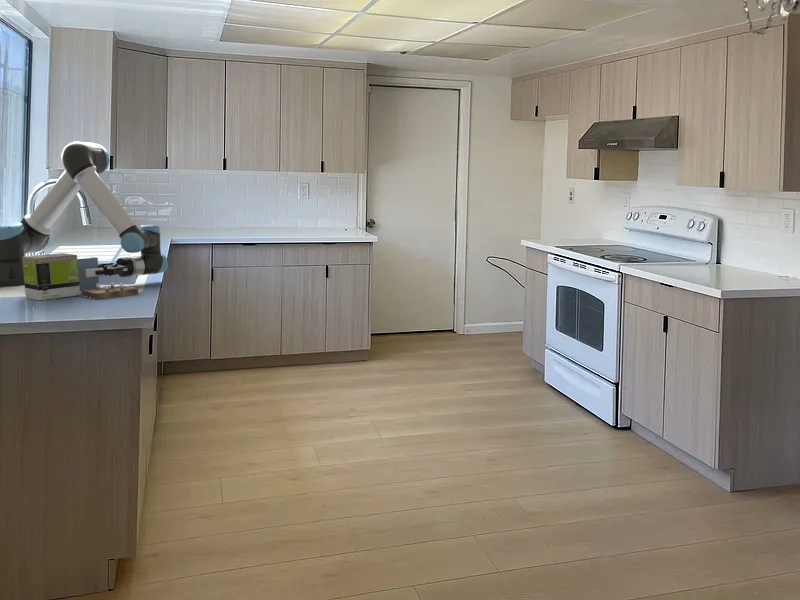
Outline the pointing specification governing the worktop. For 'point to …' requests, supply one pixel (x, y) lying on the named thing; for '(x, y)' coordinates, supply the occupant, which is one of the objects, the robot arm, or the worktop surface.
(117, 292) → the dock
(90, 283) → the block
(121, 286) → the dock pins
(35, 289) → the tea box
